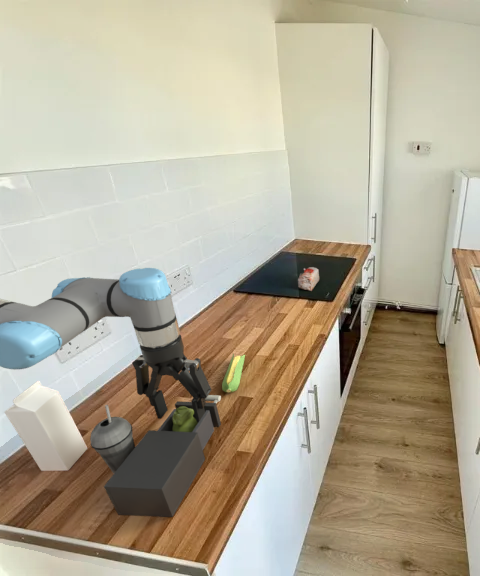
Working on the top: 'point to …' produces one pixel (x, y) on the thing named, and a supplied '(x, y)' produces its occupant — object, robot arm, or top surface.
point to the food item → (308, 279)
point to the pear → (184, 420)
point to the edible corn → (233, 374)
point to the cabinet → (156, 474)
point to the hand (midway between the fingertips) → (181, 415)
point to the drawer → (206, 422)
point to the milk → (46, 428)
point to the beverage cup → (113, 440)
